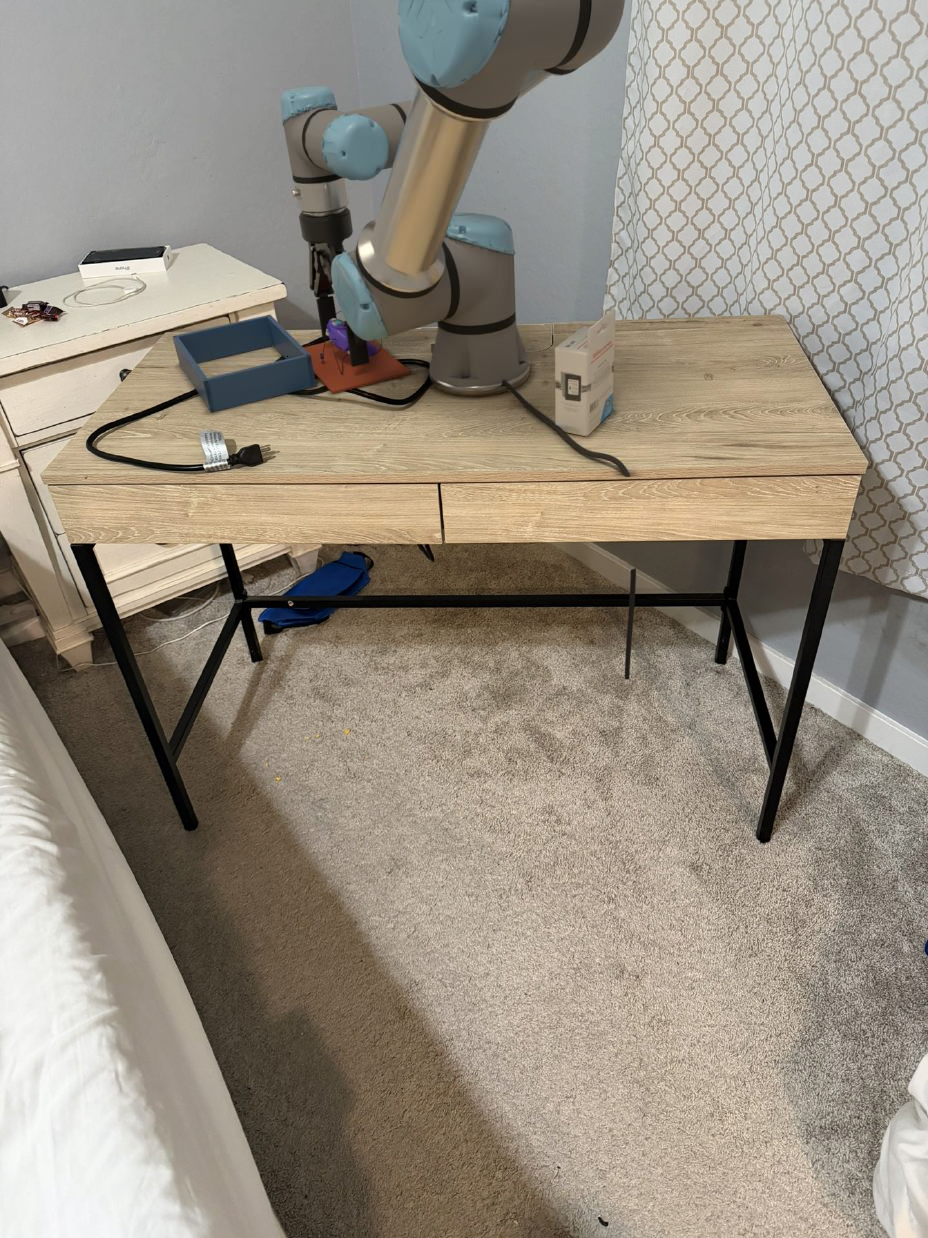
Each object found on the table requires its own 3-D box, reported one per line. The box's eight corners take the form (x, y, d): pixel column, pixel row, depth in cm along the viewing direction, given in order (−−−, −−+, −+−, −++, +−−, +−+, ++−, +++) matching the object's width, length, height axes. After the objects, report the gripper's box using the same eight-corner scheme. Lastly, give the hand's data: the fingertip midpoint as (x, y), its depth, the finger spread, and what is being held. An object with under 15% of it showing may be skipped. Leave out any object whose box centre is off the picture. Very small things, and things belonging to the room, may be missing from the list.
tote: (316, 386, 142) (310, 355, 139) (210, 412, 137) (202, 380, 134) (276, 343, 158) (270, 314, 154) (180, 365, 152) (172, 335, 149)
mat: (411, 373, 143) (410, 371, 143) (332, 393, 139) (332, 391, 139) (365, 335, 158) (364, 332, 157) (292, 352, 154) (292, 349, 153)
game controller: (398, 332, 146) (349, 339, 139) (385, 377, 151) (338, 386, 145) (359, 301, 150) (310, 307, 143) (348, 346, 155) (301, 353, 148)
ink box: (581, 405, 130) (583, 301, 121) (613, 411, 128) (617, 306, 119) (553, 430, 125) (553, 323, 116) (586, 437, 122) (588, 329, 113)
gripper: (274, 197, 142) (299, 332, 155) (327, 232, 124) (350, 381, 137) (320, 189, 144) (340, 322, 157) (379, 222, 126) (396, 370, 139)
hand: (345, 350), depth 147 cm, fingers open, 13 cm apart
